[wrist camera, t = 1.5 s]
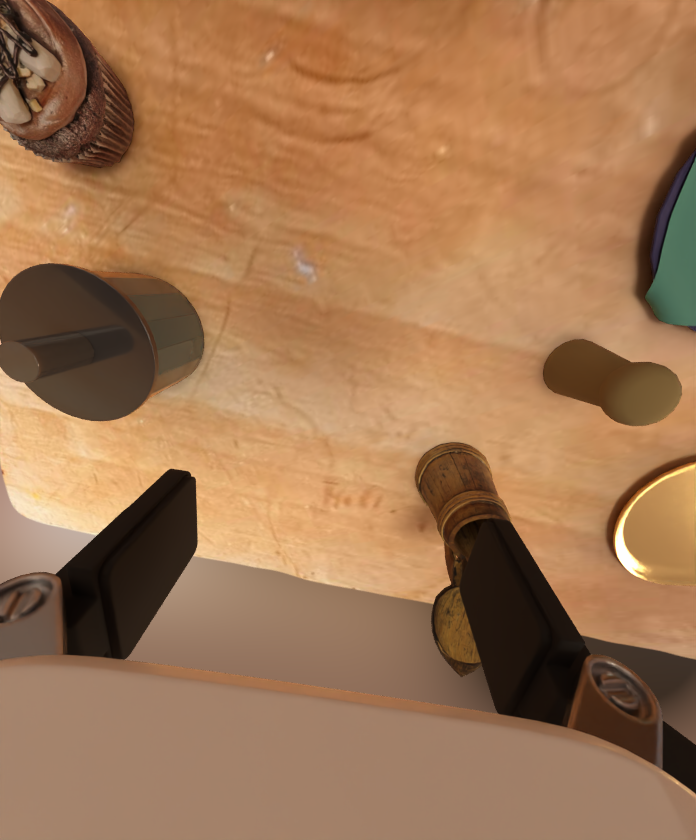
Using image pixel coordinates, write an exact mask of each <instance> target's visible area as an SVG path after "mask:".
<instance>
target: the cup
mask: <svg viewBox="0 0 696 840" xmlns="http://www.w3.org/2000/svg"><path fill="white" fill-rule="evenodd" d="M92 272H94V273H96V274H99V275H100V276H102V277H104V278H105V279H107V280H109V281H110V282H111V283H113V284H114V285H115V286H117V287H118V288H119V289H120V290H122V291H123V292H124V293H125V294H126V295H127V296H128V297H129V298H130V299H131V300H132V302H133V303H134V304H135V305H136V306H137V308H138V309H139V310H140V312H141V313H142V315H143V316H144V318H145V320H146V321H147V323H148V325H149V327H150V329H151V332H152V334H153V336H154V340H155V343H156V346H157V352H158V361H159V369H158V377H157V381H156V385H155V387H154V390H153V392H152V394H151V395H150V397H152V396H154V395H156V394H158V393H160V392H162V391H164V390H166V389H167V388H169V387H171V386H173V385H175V384H177V383H178V382H180V381H181V380H183V379H185V378H186V377H188V376H189V375H190V374H192V372H193V371H194V370H195V369H196V367H197V366H198V364H199V362H200V360H201V357H202V354H203V348H204V336H203V330H202V325H201V322H200V320H199V317H198V315H197V313H196V311H195V309H194V308H193V306H192V305H191V303H190V302H189V301H188V300H187V298H186V297H185V296H184V295H183V294H182V293H181V292H180V291H179V290H177V289H176V288H175V287H173V286H172V285H170V284H169V283H167V282H165V281H163V280H161V279H159V278H156V277H153V276H148V275H143V274H139V273H122V272H103V271H92ZM150 397H149V398H150Z"/></svg>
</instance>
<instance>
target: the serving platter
mask: <svg viewBox="0 0 696 840" xmlns="http://www.w3.org/2000/svg"><path fill="white" fill-rule="evenodd" d="M613 545H614V550H615V553H616V556H617V558H618V560H619V561H620V563H621V564H622V565H623V566H624V567H625V568H626V569H627V570H628V571H629V572H630V573H632V574H633V575H635V576H637V577H639V578H641V579H643V580H646V581H649V582H653V583H658V584H665V585H682V586H696V462H692V463H688V464H685V465H682V466H679V467H676V468H674V469H671V470H669V471H667V472H665V473H663V474H661V475H659V476H658V477H656V478H654V479H653V480H651V481H650V482H648V483H647V484H646V485H644V486H643V487H642V488H641V489H639V490H638V491H637V492H636V493H635V494H634V495H633V496H632V497H631V498H630V500H629V501H628V502H627V503H626V505H625V506H624V507H623V509H622V511H621V512H620V514H619V516H618V519H617V521H616V524H615V528H614V533H613Z"/></svg>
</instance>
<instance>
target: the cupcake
mask: <svg viewBox="0 0 696 840" xmlns="http://www.w3.org/2000/svg"><path fill="white" fill-rule="evenodd" d="M0 124H1V125H3V128H4V130H5V131H8V132H9V133H10V137H11V138H12V139H13V140H17V141H18V143H19V145H21V146H24V147H25V149H26V150H32V151H33V152H34V154H35V155H36V156H42V157H43V159H49V160H52V161H53V162H67V163H77V164H83V165H88V166H93V167H98V168H101V167H104V166H112V165H113V164H114V163H116V162H120V159H121V156H122V154H124V153H125V151H126V150H127V148H128V146H129V145H130V143H131V139H132V132H133V130H134V127H133V125H134V120H133V113H132V110H131V104H130V102H129V100H128V97H127V93H126V90H125V89H124V87H123V85H122V83H121V82H120V81H119V79H118V78H117V76H116V75H115V74H114V72H113V71H112V69H111V68H110V66H109V65H108V64H107V63H106V62H105V61H104V59H103V58H102V57H101V56H100V54H99V53H98V51H97V50H96V48H95V47H94V46H93V45H92V43H91V42H90V41H89V39H88V38H87V37H86V36H85V35H84V34H83V33H82V31H81V30H80V29H79V28H78V27H77V26H76V25H75V24H74V23H73V22H72V21H71V20H70V19H69V18H68V17H67V16H66V15H65V14H64V13H63V12H62V11H61V10H60V9H58V8H57V7H56V6H54V5H53V4H51V3H50V2H48V1H46V0H0Z"/></svg>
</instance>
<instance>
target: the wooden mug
mask: <svg viewBox="0 0 696 840" xmlns="http://www.w3.org/2000/svg"><path fill="white" fill-rule="evenodd" d="M415 481H416V487H417V489H418V491H419V493H420V495H421V497H422V499H423V501H424V502H425V503H426V504H427V505H428V506H429V508H430V510H431V512H432V514H433V516H434V517H435V519H436V522H437V529H438V531H439V533H440V535H441V537H442V539H443V541H444V546H445V559H446V565H447V570H448V574H449V578H450V581H451V585H450V586H448V587H446V588H444V589H443V590H442V591H441V592H440V593H439V594H438V595H437V596H436V598H435V602H434V605H433V610H432V618H431V624H432V633H433V636H434V640H435V643H436V645H437V647H438V649H439V651H440V653H441V655H442V656H443V657H444V659H445V660H446V661H447V662H448V664H449V665H450V666H451V667H452V668H453V669H454V670H455V671H456V672H457V673H458V674H459V675H460V676H461V677H463V676H465V675H467V674H469V673H472V672H474V671H475V670H476V669H478V668H479V667H480V666H482V663H481V660H480V657H479V654H478V650H477V647H476V644H475V641H474V637H473V634H472V631H471V628H470V624H469V621H468V618H467V615H466V611H465V608H464V605H463V602H462V598H461V595H460V581H461V578H462V575H463V573H464V570H465V567H466V565H467V562H468V559H469V557H470V554H471V551H472V549H473V546H474V543H475V540H476V538H477V535H478V532H479V530H480V527H481V524H482V523H483V522H484V521H486V522H487V521H488V519H489V518H496V519H503V520H508V521H510V522H511V523H512V521H511V517H510V515H509V512H508V510H507V508H506V506H505V504H504V502H503V500H502V499H501V498H500V497H499V496H498V493H497V491H496V488H495V485H494V483H493V479H492V474H491V470H490V467H489V464H488V462H487V460H486V458H485V456H484V455H483V454H482V453H480V452H479V451H478V450H477V449H475V448H473V447H471V446H469V445H465V444H462V443H449V444H444V445H440V446H438V447H436V448H433V449H431V450H430V451H429V452H427V453H426V454H425V455H424V456H423V457H422V459H421V460H420V462H419V464H418V467H417V470H416V475H415ZM456 556H457V557H458V558H457V557H456Z"/></svg>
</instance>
